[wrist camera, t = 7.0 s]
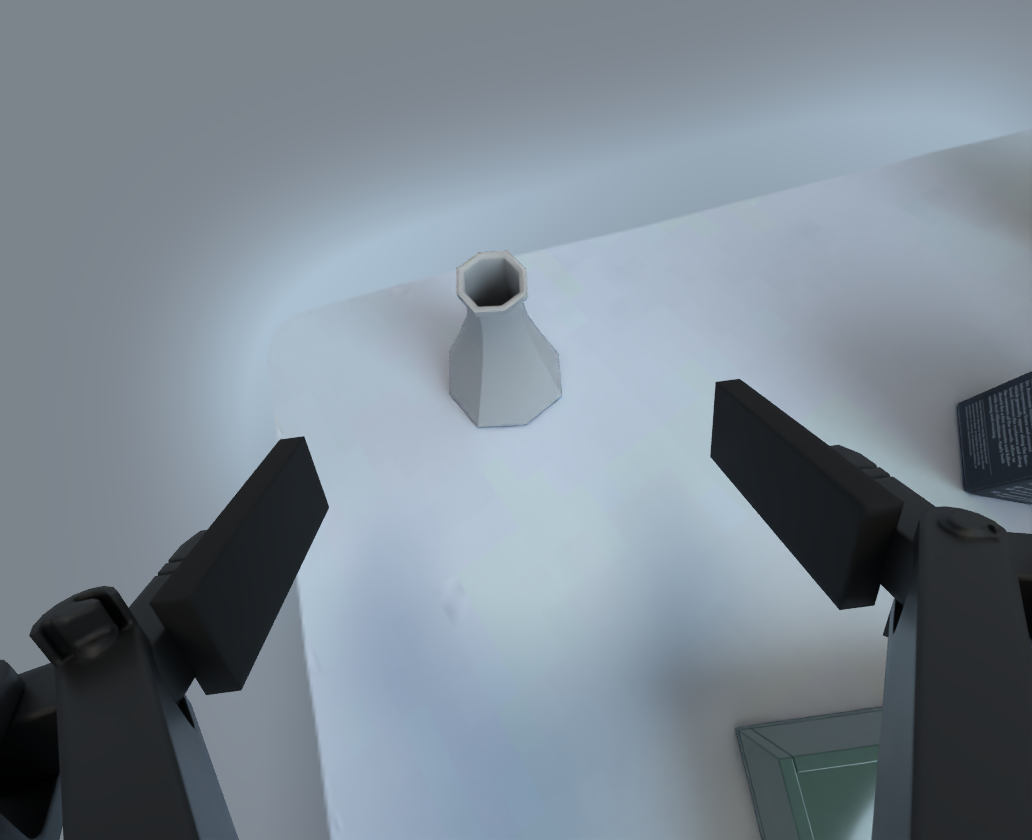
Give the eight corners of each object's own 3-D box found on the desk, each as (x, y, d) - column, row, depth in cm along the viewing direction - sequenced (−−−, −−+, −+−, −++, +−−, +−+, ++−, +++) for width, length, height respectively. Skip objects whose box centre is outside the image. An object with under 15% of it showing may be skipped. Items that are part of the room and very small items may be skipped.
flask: (536, 309, 32) (537, 192, 22) (581, 405, 29) (603, 320, 20) (432, 346, 31) (388, 243, 22) (469, 447, 29) (437, 381, 19)
